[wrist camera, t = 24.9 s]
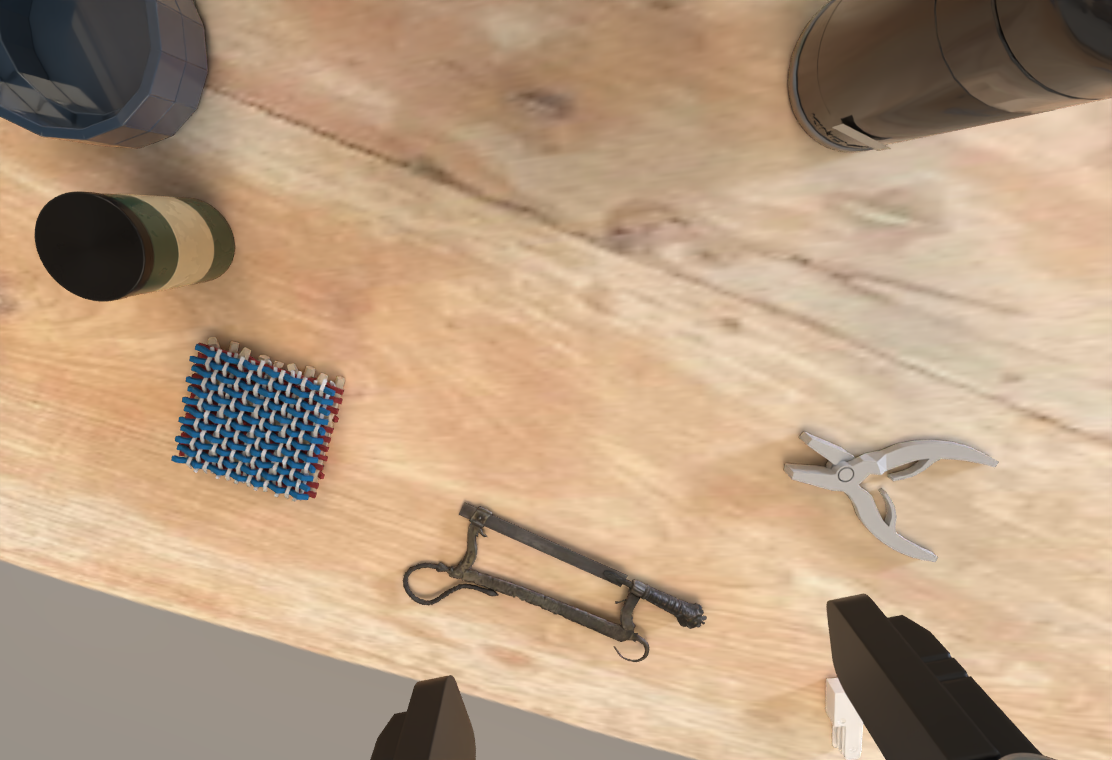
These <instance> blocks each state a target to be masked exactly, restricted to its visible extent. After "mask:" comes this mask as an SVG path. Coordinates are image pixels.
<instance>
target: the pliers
mask: <svg viewBox="0 0 1112 760" xmlns="http://www.w3.org/2000/svg"><path fill="white" fill-rule="evenodd" d="M799 438H800V439H801V440H802V441H803V442H804V443H805V444H806V445H808V446H809V447H811V448H812V449H813V450H815V451H816V452H818V453H819V454H820V455H822V456H823V457H825V458H826V459H827V460H828V462H827V463H826V467H823V466H816V465H803V464H790V463H785V466H784V471H785V472H786V473H787V474H788V476H789V477H790V478H791V479H792V480H796V481H799V482H803V483H807V484H810V485H814V486H817V487H821V488H824V489H828V490H832V491H843V492H845V493H846V494H847V496H848V497H849V498H850V500H851V501H852V504H853V507H854V509H855V512H856V515H857V516H858V518H859V519H860V521H861V522H862V524H863V525H864V526H865V527H866V528H867V529H868V530H869V531H870V532H871V533H872V534H873V535H874V536H875V537H876V538H878V539H879V540H880V541H881V542H883V543H884V544H886V545H887V546H889V547H890V548H892V549H893V550H896V551H898V552H900V553H902V554H904V555H907V556H910V557H912V558H916V559H921V560H926V561H932V562H935V561H936V560H937V558H938V557H937V556H936V555H935V554H934V553H933V552H931V551H929V550H926V549H924V548H922V547H920V546H918V545H916V544H914V543H912V542H910V541H909V540H907V539H905V538H904V537H902V536H901V535H899V534H898V533H896V529H895V525H896V510H895V506H894V504H893V502H892V500H891V498H890V497H889V496H888V494H887V493H886V492H885V491H884V490H883V489H882V488H881V489H879V492H880V493H881V495H882V496H883V498H884V501H885V503H886V509H887V514H886V517H885V520H884V521H883V520H882V517H881V515H880V513H879V511H878V509H877V507H876V504H875V502H874V499H873V497H872V495H871V494H870V493H868V492H867V491H866V490H865V489H863V488H862V487H860V486H859V484H860V483H861V482H862V481H863V480H864V479H865V478H866V477H867V476H868V475H869V474H878V475H882V474H883V473H884V472H885V471H887V470H890V469H892V468H895V467H898V466H901V465H904V464H907V463H910V462H913V461H917V460H919V461H918V462H917V463H916V464H914V465H913V466H911V467H909V468H908V469H905V470H902V471H899V472H896V473H891V474H888V478H890V479H891V480H892V481H897V480H902V479H906V478H909V477H913V476H915V475H917V474H919V473H920V472H922V471H924V470H926V469H927V468H928V467H929V466H930V465H932V464H933V463H934V462H936V461H938V460H940V459H954V460H964V461H969V462H975V463H980V464H985V465H988V466H992V467H996V466H997V464H998V463H999V462H998V461H996V460H995V459H993V458H991V457H990V456H988V455H986V454H984V453H982V452H980V451H978V450H976V449H974V448H972V447H969V446H966V445H963V444H959V443H955V442H950V441H941V440H915V441H908V442H902V443H898V444H895V445H893V446H890V447H888V448H885V449H883V450H879V451H874V452H869V453H865V454H863V455H861V456H859V457H857V458H855V457H854V456H853V455H851V454H850V453H848V452H847V451H846V450H844V449H843V448H841V447H840V446H837V445H835V444H833V443H830V442H828V441H826V440H823V439H821V438H818V437H816V436H814V435H811V434H809V433H807V432H803V433H802V434H801V435H800V436H799Z"/></svg>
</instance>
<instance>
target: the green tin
mask: <svg viewBox="0 0 1112 760" xmlns="http://www.w3.org/2000/svg"><path fill="white" fill-rule="evenodd" d="M35 243H36V248H37V252H38V254H39V257H40V259H41V261H42V263H43V265H44V267H45V268H46V270H47V271H48V273H49V274H50V275H51V276H52V277H53V278H54V279H55V280H56V281H57V282H58V283H59V284H60V285H61V286H62V287H64V288H65V289H66V290H68V291H70V292H71V293H73V294H75V295H77V296H80V297H82V298H85V299H89V300H93V301H114V300H119V299H123V298H127V297H129V296H134V295H139V294H146V293H152V292H157V291H163V290H168V289H173V288H178V287H183V286H187V285H191V284H196V283H201V282H206V281H210V280H213V279H216V278H218V277H219V276H221V275H222V274H223V273H224V272H225V271H226V270H227V269H228V268H229V266H230V264H231V262H232V260H233V256H234V249H235V247H234V238H233V234H232V231H231V229H230V227H229V225H228V223H227V221H226V220H225V219H224V217H223V216H222V215H221V214H220V213H219V212H218V211H217V210H216V209H215V208H213V207H212V206H211V205H209V204H207V203H205V202H203V201H201V200H198V199H194V198H185V197H167V196H153V195H132V194H100V193H94V192H69V193H65V194H61V195H59V196H57V197H55V198H54V199H52V200H51V201H49V202H48V203H47V204H46V205H45V206H44V207H43V209H42V210H41V212H40V214H39V216H38V218H37V221H36V226H35Z"/></svg>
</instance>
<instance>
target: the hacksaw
mask: <svg viewBox="0 0 1112 760" xmlns="http://www.w3.org/2000/svg"><path fill="white" fill-rule="evenodd" d="M459 515H461V516H463V517H465V518H467V519H470V520H469V521H470V522H471V524H470V526H469V530H468V541H467V552H466V555H465V557H464V558H463V560H462V561H460V563H459V564H458V566H457V567H453V566H451V568H450V567H447V566H445V565H444V564H443V563H441V562H440V563H439V564H438V565H436V564H431V563H423V564H418V565H416V566H413V567H410V568H409V570H408V571H407V572H406V573H405V575H404V578H403V587H404V589H405V591H406V593H407V594H408V595H409V597H411V599H412V600H414V601H415V602H417V603H419V604H422V605H433V604H435V603H437V602H439V601H440V600H441V599H443V598H445V597H446V596H448V595H449V594H450V593H453V592H454V591H457V590H458V589H459V590H460V589H461V588H468V589H474V590H478V591H481V592H483V593H485V594H487V595H489V596H498V595H499V594H497V593H496V592H495V591H498V592H501V593H503V594H506V595H509V596H513V597H516V596H517V597H519V598H520V600H522V601H523V600H525V601H526V602H528V603H530V604H533V605H535V606H540V607H541V608H542V609H545V610H548V611H550V612H553V614H559V615H562V616H563V617H564V618H566V619H569V620H571V621H573V622H576V623H578V624H580V625H582V626H586V627H587V628H590V629H593V630H595V631H597V632H599V633H601V634H603V635H606V636H608V637H610V638H613V639H615V640H617V641H620V642H623V641H626V640H633V641H634V642H636V641H638V642H640V643H641V644H643V645H644V648H645V653H644V655H643V657H642V658H640V659H638V660H631V659H627V658H624V657H623V656H622V655H621V654H620V653H619V651H618V650H617V649H616V647H615V646H614V648H615V650H616V651H617V653H618V654H619V655H620V656H621V657H622V658H623V659H625V660H628V661H632V662H639V661H642V660H643V659H645V658H646V657H647V656H648V653H649V645H648V643H647V642H646V640H645V639H644V638H642V637H641V636H639V635H638V633H634V628H635V624H634V623H633V617H632V613H633V609H634V608H635V606H636V604H637V603H638V601H639V599H640V598H642V599H646V600H647V601H649V602H651V603H652V604H654V605H656V606H657V607H659V608H662V609H664V610H665V611H667V612H669V613H671V614H673V615H674V616H675V617H676V618H677V620H678V622H679V624H680V625H681V626H683V627H686V626H687V627H688V628H690V629H692V628H695V627H700V626H701V623H702V624H705V622H703V621H704V620H706V619H707V617H706V616H702V614H703V613H704V612H703V610H702V607H701V605H699V604H696V603H695V604H690V603H688V602H685V601H682V600H680V599H677V598H676V597H673V596H671V595H668V594H666V593H664V592H661V591H659V590H657V589H655V588H653V587H650V586H649V585H648V584H644V583H642V582H640V581H638V580H632V582H631V581H629V580H627V579H626V578H627V576H628V575H626V574H623V573H621V572H619V571H617V570H614V569H612V568H610V567H608V566H605V565H603V564H601V563H598V562H596V561H594V560H592V559H589V558H587V557H585V556H583V555H580V554H578V553H576V552H573V551H571V550H569V549H567V548H564V547H562V546H560V545H559V544H557V543H554V542H552V541H550V540H547V539H545V538H543V537H540V536H538V535H536V534H534V533H531V532H529V531H527V530H525V529H522V528H520V527H517V526H515V525H514V524H512V523H510V522H507V521H505V520H503V519H500V518H498V517H496V516H493V515H492V512H491V511H489V510H487V509H485V508H483V507H481V506H479V507H478V508H476V507H474V506H471V505H469V504H467V503H464V505H463V507H462V509H461V511H460V513H459ZM484 526H485V527H488V528H490V529H492V530H494V531H497V532H499V533H501V534H503V535H506V536H508V537H510V538H512V539H515V540H517V541H519V542H521V543H524V544H526V545H528V546H530V547H533V548H535V549H537V550H539V551H541V552H544V553H546V554H548V555H550V556H553V557H555V558H557V559H559V560H562V561H564V562H566V563H568V564H571V565H573V566H575V567H577V568H580V569H582V570H584V571H586V572H589V573H591V574H593V575H595V576H598V577H600V578H602V579H604V580H607V581H609V582H611V583H613V584H615V585H618V586H620V587H621V586H622V584H623V585H626V586H627V587H629V592H630V593H629V594H628V596H627V599H625V600H623V601H625V602H624V604H623V606H622V609H621V615H620V622H621V625H619V624H616V623H613V622H610V621H608V620H605V619H603V618H600V617H598V616H595V615H593V614H590V613H588V612H586V611H583V610H580V609H578V608H575V607H573V606H570V605H568V604H566V603H563V602H560V601H557V600H555V599H552V598H550V597H548V596H544V595H543V594H540V593H537V592H535V591H532V590H530V589H527V588H524V587H521V586H519V585H516V584H513V583H512V582H508V581H506V580H502V579H499V578H496V577H491V576H489V575H487V574H481V573H479V572H478V571H475V570H470V569H471V567H472V565H473V564H474V562H475V559H476V555H477V544H476V536H477V537H478V533H480V534H481V535H482V536H483V537H487V536H486V535H485V534H483V531H482V528H483V527H484ZM427 567H428V568H434V569H436V571H438V572H447V573H449V576H450V577H453V578H457V579H462V580H464V581H469V582H474V583H475V584H477V585H481V586H484V587H487V588H490V589H486V588H482V587H479V586H476V585H471V584H459V585H457V586H454V587H453V588H451V589H449V590H448V591H445V592H444V593H442V594H441V595H440V596H439V597H437V598H435V599H433V600H430V601H426V600H423V599H420V598H418V597H416V596H415V595H414V594H412V592H411V591H410V589H409V587H408V582H407V580H408V576H409V575H410V574H411V572H412V571H415V570H417V569H420V568H427ZM494 590H495V591H494ZM623 601H620V602H623ZM620 602H617V601H615V604H617V603H620ZM702 620H703V621H702Z"/></svg>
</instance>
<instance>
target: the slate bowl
mask: <svg viewBox="0 0 1112 760" xmlns="http://www.w3.org/2000/svg"><path fill="white" fill-rule="evenodd" d="M207 73H208V65H207V54H206V43H205V32H204V25H203V23H202V21H201V18H200V16H199V14H198V12H197V10H196V7H195V5H194V3H193V1H192V0H0V117H2V118H4V119H6V120H8V121H10V122H12V123H14V124H16V125H18V126H21V127H23V128H25V129H27V130H29V131H31V132H33V133H35V134H37V135H39V136H42V137H46V138H53V139H59V140H66V141H72V142H79V143H86V144H92V145H99V146H109V147H122V148H135V149H138V148H142V147H145V146H147V145H150V144H153V143H155V142H158V141H160V140H163V139H166V138H168V137H171V136H173V135H174V134H175V133H176V132H177V131H178V130H179V128H180V127H181V126H182V125H183V124H184V123H185V122H186V121H187V119H188V118H189V117H190V116H191V115H192V114H193V113H194V112H195V111H196V109H197V107H198V104H199V101H200V97H201V94H202V90H203V87H204V84H205V80H206V77H207Z"/></svg>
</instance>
